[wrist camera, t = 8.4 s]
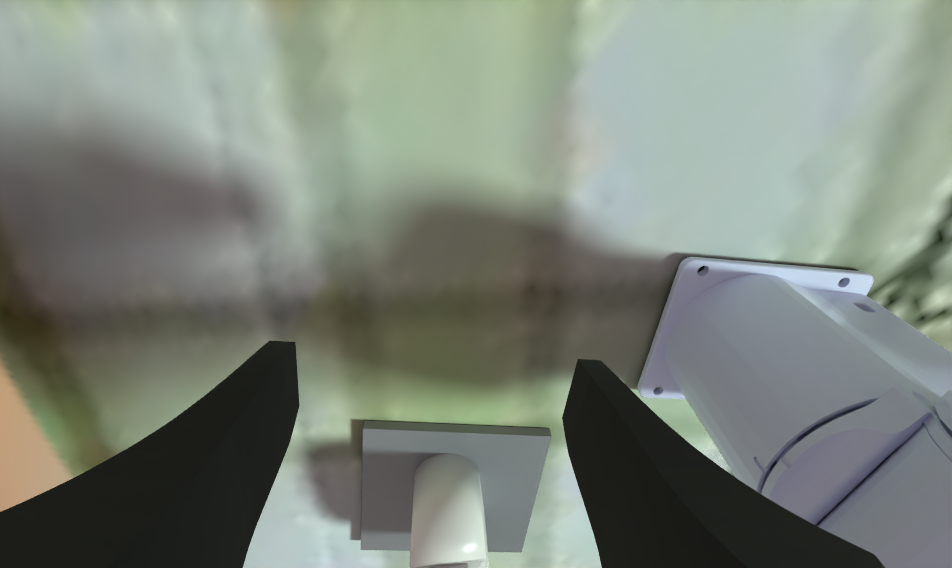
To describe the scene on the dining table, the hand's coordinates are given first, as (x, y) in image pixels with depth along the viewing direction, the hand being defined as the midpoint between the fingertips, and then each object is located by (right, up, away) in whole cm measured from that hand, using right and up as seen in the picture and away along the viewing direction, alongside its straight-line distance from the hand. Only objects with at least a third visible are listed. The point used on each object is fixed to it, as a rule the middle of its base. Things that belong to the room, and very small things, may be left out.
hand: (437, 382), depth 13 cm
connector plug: (0, -10, +16) cm, 19 cm away
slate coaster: (0, -9, +16) cm, 19 cm away
